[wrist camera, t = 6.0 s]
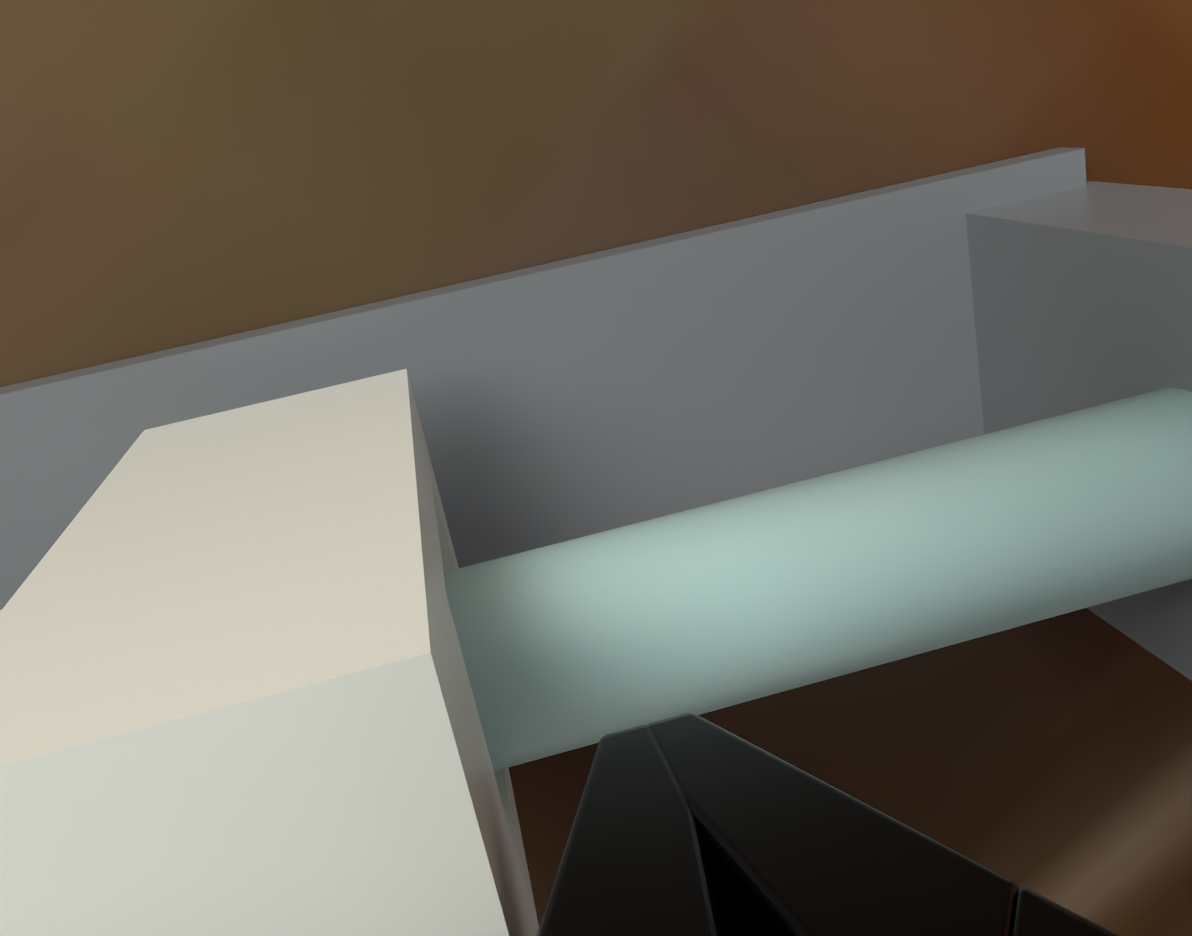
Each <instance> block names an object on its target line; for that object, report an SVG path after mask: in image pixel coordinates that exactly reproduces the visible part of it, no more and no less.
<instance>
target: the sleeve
mask: <svg viewBox="0 0 1192 936" xmlns="http://www.w3.org/2000/svg"><path fill="white" fill-rule="evenodd" d="M458 568H459V567H458V563H457V559H456V556H455V552H454V548H453V544H452V540H451V536H450V533H449V529H448V525H447V521H446V517H445V513H444V510H443V506H442V502H441V498H440V494H439V490H438V487H437V483H436V479H435V475H434V471H433V467H432V463H431V460H430V456H429V452H428V448H427V444H426V440H425V437H424V433H423V429H422V425H421V421H420V417H419V414H418V410H417V406H416V402H415V398H414V394H413V391H412V387H411V383H410V379H409V375H408V371H407V369H403V370H399V371H394V372H390V373H386V374H382V375H377V376H373V377H369V378H364V379H360V380H356V381H352V382H347V383H343V384H339V385H335V386H330V387H326V388H322V389H317V390H313V391H309V392H305V393H300V394H296V395H292V396H288V397H283V398H279V399H275V400H270V401H266V402H262V403H258V404H253V405H249V406H245V407H241V408H236V409H232V410H228V411H223V412H219V413H215V414H211V415H206V416H202V417H198V418H194V419H189V420H185V421H181V422H176V423H172V424H168V425H164V426H159V427H155V428H151V429H146V430H144V431H143V432H142V433H141V435H140V436H139V437H138V438H137V440H136V441H135V442H134V443H133V445H132V446H131V447H130V449H129V450H128V451H127V452H126V454H125V455H124V456H123V457H122V459H121V460H120V461H119V462H118V464H117V465H116V466H115V467H114V469H113V470H112V471H111V473H110V474H109V475H108V476H107V478H106V479H105V480H104V481H103V483H102V484H101V485H100V486H99V488H98V489H97V490H96V491H95V493H94V494H93V495H92V497H91V498H90V499H89V500H88V502H87V503H86V504H85V505H84V507H83V508H82V509H81V510H80V512H79V513H78V514H77V515H76V517H75V518H74V519H73V521H72V522H71V523H70V524H69V526H68V527H67V528H66V529H65V531H64V532H63V533H62V534H61V536H60V537H59V538H58V539H57V541H56V542H55V543H54V545H53V546H52V547H51V548H50V550H49V551H48V552H47V553H46V555H45V556H44V557H43V558H42V560H41V561H40V562H39V563H38V565H37V566H36V567H35V569H34V570H33V571H32V572H31V574H30V575H29V576H28V577H27V579H26V580H25V581H24V582H23V584H22V585H21V586H20V587H19V589H18V590H17V591H16V593H15V594H14V595H13V596H12V598H11V599H10V600H9V601H8V603H7V604H6V605H5V606H4V608H3V609H2V610H1V611H0V936H536V935H537V932H538V929H539V925H538V919H537V914H536V909H535V904H534V898H533V893H532V888H531V883H530V877H529V872H528V867H527V862H526V856H525V851H524V846H523V841H522V835H521V830H520V825H519V820H518V814H517V809H516V804H515V799H514V793H513V788H512V783H511V778H510V772H509V767H508V768H505V769H501V770H498V771H493V767H492V763H491V760H490V756H489V752H488V748H487V745H486V741H485V737H484V733H483V730H482V726H481V722H480V718H479V715H478V711H477V707H476V703H475V700H474V696H473V692H472V689H471V685H470V681H469V677H468V674H467V670H466V666H465V662H464V659H463V655H462V651H461V647H460V644H459V640H458V636H457V632H456V629H455V625H454V621H453V617H452V614H451V610H450V606H449V602H448V599H447V595H446V588H445V580H444V572H447V571H451V570H455V569H458Z"/></svg>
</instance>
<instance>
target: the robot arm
mask: <svg viewBox="0 0 1192 936" xmlns="http://www.w3.org/2000/svg"><path fill="white" fill-rule="evenodd" d="M536 936H1120V935H1118V934H1116V933H1114V932H1112V931H1110V930H1108V929H1105V928H1103V927H1101V926H1099V925H1097V924H1095V923H1093V922H1091V921H1089V920H1087V919H1085V918H1083V917H1081V916H1079V915H1077V914H1075V913H1073V912H1071V911H1069V910H1067V909H1066V908H1064V907H1062V906H1060V905H1058V904H1056V903H1054V902H1052V901H1050V900H1048V899H1047V898H1045V897H1043V896H1041V895H1039V894H1037V893H1035V892H1033V891H1031V890H1029V889H1027V888H1022V889H1020V890H1019V889H1018V886H1017V884H1016V883H1015V882H1013V881H1011V880H1010V879H1008V878H1006V877H1004V876H1002V875H1000V874H998V873H996V872H994V871H992V870H991V869H989V868H987V867H985V866H983V865H981V864H979V863H977V862H975V861H974V860H972V859H970V858H968V857H966V856H964V855H962V854H960V853H958V852H956V851H955V850H953V849H951V848H949V847H947V846H945V845H943V844H941V843H939V842H937V841H936V840H934V839H932V838H930V837H928V836H926V835H924V834H922V833H920V832H918V831H917V830H915V829H913V828H911V827H909V826H907V825H905V824H903V823H901V822H900V821H898V820H896V819H894V818H892V817H890V816H888V815H886V814H884V813H882V812H881V811H879V810H877V809H875V808H873V807H871V806H869V805H867V804H865V803H863V802H862V801H860V800H858V799H856V798H854V797H852V796H850V795H848V794H846V793H844V792H843V791H841V790H839V789H837V788H835V787H833V786H831V785H829V784H827V783H825V782H824V781H822V780H820V779H818V778H816V777H814V776H812V775H810V774H808V773H807V772H805V771H803V770H801V769H799V768H797V767H795V766H793V765H791V764H789V763H788V762H786V761H784V760H782V759H780V758H778V757H776V756H774V755H772V754H770V753H769V752H767V751H765V750H763V749H761V748H759V747H757V746H755V745H753V744H751V743H750V742H748V741H746V740H744V739H742V738H740V737H738V736H736V735H734V734H732V733H731V732H729V731H727V730H725V729H723V728H721V727H719V726H717V725H715V724H714V723H712V722H710V721H708V720H706V719H704V718H702V717H700V716H698V715H696V714H693V713H684V714H680V715H676V716H673V717H669V718H665V719H662V720H658V721H654V722H651V723H649V724H647V725H639V726H636V727H632V728H628V729H625V730H621V731H617V732H613V733H610V734H606V735H604V736H603V737H602V738H601V739H600V742H599V744H598V747H597V750H596V753H595V756H594V759H593V762H592V766H591V769H590V772H589V775H588V778H587V781H586V784H585V787H584V790H583V793H582V796H581V800H580V803H579V806H578V809H577V812H576V815H575V818H574V821H573V824H572V827H571V830H570V833H569V837H568V840H567V843H566V846H565V849H564V852H563V855H562V858H561V861H560V864H559V867H558V871H557V874H556V877H555V880H554V883H553V886H552V889H551V892H550V895H549V898H548V901H547V905H546V908H545V911H544V914H543V917H542V920H541V923H540V926H539V929H538V932H537V935H536Z"/></svg>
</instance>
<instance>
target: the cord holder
mask: <svg viewBox="0 0 1192 936" xmlns="http://www.w3.org/2000/svg"><path fill="white" fill-rule="evenodd" d="M403 369H407V371H408V375H409V379H410V383H411V387H412V391H413V394H414V398H415V402H416V406H417V410H418V414H419V417H420V421H421V425H422V429H423V433H424V437H425V440H426V444H427V448H428V452H429V456H430V460H431V463H432V467H433V471H434V475H435V479H436V483H437V487H438V490H439V494H440V498H441V502H442V506H443V510H444V513H445V517H446V521H447V525H448V529H449V533H450V536H451V540H452V544H453V548H454V552H455V556H456V559H457V563H458V567H459V568H458V569H455V570H451V571H447V572H444V580H445V588H446V595H447V599H448V602H449V606H450V610H451V614H452V617H453V621H454V625H455V629H456V632H457V636H458V640H459V644H460V647H461V651H462V655H463V659H464V662H465V666H466V670H467V674H468V677H469V681H470V685H471V689H472V692H473V696H474V700H475V703H476V707H477V711H478V715H479V718H480V722H481V726H482V730H483V733H484V737H485V741H486V745H487V748H488V752H489V756H490V760H491V763H492V767H493V771H498V770H501V769H505V768H508V767H512V766H516V765H519V764H523V763H527V762H530V761H534V760H537V759H541V758H545V757H548V756H552V755H556V754H559V753H563V752H566V751H570V750H574V749H577V748H581V747H584V746H588V745H592V744H595V743H599V742H600V739H601V738H602V737H603V736H604V735H606V734H610V733H613V732H617V731H621V730H625V729H628V728H632V727H636V726H639V725H647V724H649V723H651V722H654V721H658V720H662V719H665V718H669V717H673V716H676V715H680V714H684V713H693V714H696V715H700V714H704V713H707V712H711V711H715V710H718V709H722V708H726V707H729V706H733V705H736V704H740V703H744V702H747V701H751V700H755V699H758V698H762V697H765V696H769V695H773V694H776V693H780V692H783V691H787V690H791V689H794V688H798V687H802V686H805V685H809V684H812V683H816V682H820V681H823V680H827V679H830V678H834V677H838V676H841V675H845V674H849V673H852V672H856V671H859V670H863V669H867V668H870V667H874V666H878V665H881V664H885V663H888V662H892V661H896V660H899V659H903V658H906V657H910V656H914V655H917V654H921V653H925V652H928V651H932V650H935V649H939V648H943V647H946V646H950V645H953V644H957V643H961V642H964V641H968V640H972V639H975V638H979V637H982V636H986V635H990V634H993V633H997V632H1001V631H1004V630H1008V629H1011V628H1015V627H1019V626H1022V625H1026V624H1029V623H1033V622H1037V621H1040V620H1044V619H1048V618H1051V617H1055V616H1058V615H1062V614H1066V613H1069V612H1073V611H1077V610H1080V609H1084V608H1087V609H1088V610H1090V611H1091V612H1093V613H1094V614H1096V615H1097V616H1098V617H1100V618H1101V619H1103V620H1104V621H1106V622H1107V623H1109V624H1110V625H1111V626H1113V627H1114V628H1116V629H1117V630H1119V631H1120V632H1122V633H1123V634H1124V635H1126V636H1127V637H1129V638H1130V639H1132V640H1133V641H1135V642H1136V643H1137V644H1139V645H1140V646H1142V647H1143V648H1145V649H1146V650H1148V651H1149V652H1150V653H1152V654H1153V655H1155V656H1156V657H1158V658H1159V659H1161V660H1162V661H1164V662H1165V663H1166V664H1168V665H1169V666H1171V667H1172V668H1174V669H1175V670H1177V671H1178V672H1179V673H1181V674H1182V675H1184V676H1185V677H1187V678H1188V679H1190V680H1191V681H1192V189H1180V188H1168V187H1155V186H1143V185H1130V184H1118V183H1106V182H1093V181H1086V164H1085V148H1065V147H1059V148H1054V149H1050V150H1046V151H1041V152H1037V153H1032V154H1028V155H1024V156H1019V157H1015V158H1010V159H1006V160H1002V161H997V162H993V163H988V164H984V165H979V166H975V167H971V168H966V169H962V170H957V171H953V172H949V173H944V174H940V175H935V176H931V177H927V178H922V179H918V180H913V181H909V182H905V183H900V184H896V185H891V186H887V187H882V188H878V189H874V190H869V191H865V192H860V193H856V194H852V195H847V196H843V197H838V198H834V199H830V200H825V201H821V202H816V203H812V204H807V205H803V206H799V207H794V208H790V209H785V210H781V211H777V212H772V213H768V214H763V215H759V216H755V217H750V218H746V219H741V220H737V221H732V222H728V223H724V224H719V225H715V226H710V227H706V228H702V229H697V230H693V231H688V232H684V233H680V234H675V235H671V236H666V237H662V238H657V239H653V240H649V241H644V242H640V243H635V244H631V245H627V246H622V247H618V248H613V249H609V250H605V251H600V252H596V253H591V254H587V255H582V256H578V257H574V258H569V259H565V260H560V261H556V262H552V263H547V264H543V265H538V266H534V267H530V268H525V269H521V270H516V271H512V272H507V273H503V274H499V275H494V276H490V277H485V278H481V279H477V280H472V281H468V282H463V283H459V284H455V285H450V286H446V287H441V288H437V289H433V290H428V291H424V292H419V293H415V294H410V295H406V296H402V297H397V298H393V299H388V300H384V301H380V302H375V303H371V304H366V305H362V306H358V307H353V308H349V309H344V310H340V311H335V312H331V313H327V314H322V315H318V316H313V317H309V318H305V319H300V320H296V321H291V322H287V323H283V324H278V325H274V326H269V327H265V328H260V329H256V330H252V331H247V332H243V333H238V334H234V335H230V336H225V337H221V338H216V339H212V340H208V341H203V342H199V343H194V344H190V345H185V346H181V347H177V348H172V349H168V350H163V351H159V352H155V353H150V354H146V355H141V356H137V357H133V358H128V359H124V360H119V361H115V362H110V363H106V364H102V365H97V366H93V367H88V368H84V369H80V370H75V371H71V372H66V373H62V374H58V375H53V376H49V377H44V378H40V379H35V380H31V381H27V382H22V383H18V384H13V385H9V386H5V387H0V611H1V610H2V609H3V608H4V606H5V605H6V604H7V603H8V601H9V600H10V599H11V598H12V596H13V595H14V594H15V593H16V591H17V590H18V589H19V587H20V586H21V585H22V584H23V582H24V581H25V580H26V579H27V577H28V576H29V575H30V574H31V572H32V571H33V570H34V569H35V567H36V566H37V565H38V563H39V562H40V561H41V560H42V558H43V557H44V556H45V555H46V553H47V552H48V551H49V550H50V548H51V547H52V546H53V545H54V543H55V542H56V541H57V539H58V538H59V537H60V536H61V534H62V533H63V532H64V531H65V529H66V528H67V527H68V526H69V524H70V523H71V522H72V521H73V519H74V518H75V517H76V515H77V514H78V513H79V512H80V510H81V509H82V508H83V507H84V505H85V504H86V503H87V502H88V500H89V499H90V498H91V497H92V495H93V494H94V493H95V491H96V490H97V489H98V488H99V486H100V485H101V484H102V483H103V481H104V480H105V479H106V478H107V476H108V475H109V474H110V473H111V471H112V470H113V469H114V467H115V466H116V465H117V464H118V462H119V461H120V460H121V459H122V457H123V456H124V455H125V454H126V452H127V451H128V450H129V449H130V447H131V446H132V445H133V443H134V442H135V441H136V440H137V438H138V437H139V436H140V435H141V433H142V432H143V431H144V430H146V429H151V428H155V427H159V426H164V425H168V424H172V423H176V422H181V421H185V420H189V419H194V418H198V417H202V416H206V415H211V414H215V413H219V412H223V411H228V410H232V409H236V408H241V407H245V406H249V405H253V404H258V403H262V402H266V401H270V400H275V399H279V398H283V397H288V396H292V395H296V394H300V393H305V392H309V391H313V390H317V389H322V388H326V387H330V386H335V385H339V384H343V383H347V382H352V381H356V380H360V379H364V378H369V377H373V376H377V375H382V374H386V373H390V372H394V371H399V370H403Z"/></svg>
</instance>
